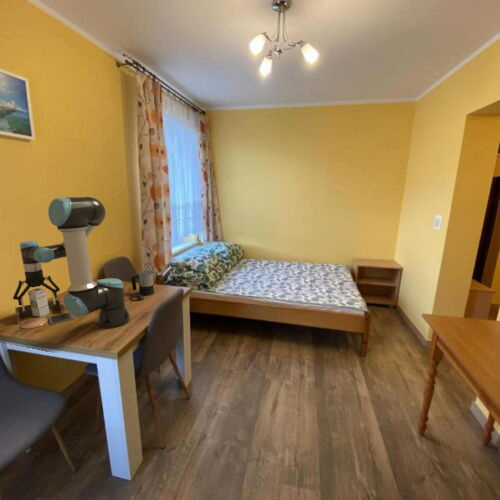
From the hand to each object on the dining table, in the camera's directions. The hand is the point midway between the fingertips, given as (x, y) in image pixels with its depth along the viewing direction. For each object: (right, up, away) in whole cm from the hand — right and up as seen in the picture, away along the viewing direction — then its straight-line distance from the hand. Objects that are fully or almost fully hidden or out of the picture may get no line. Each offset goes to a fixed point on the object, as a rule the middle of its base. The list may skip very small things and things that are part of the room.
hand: (39, 306), depth 151 cm
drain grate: (+14, -6, -4) cm, 16 cm away
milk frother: (+46, +1, +29) cm, 54 cm away
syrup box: (0, -5, +1) cm, 5 cm away
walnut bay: (0, -4, +1) cm, 5 cm away
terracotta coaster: (+5, -7, -9) cm, 12 cm away
